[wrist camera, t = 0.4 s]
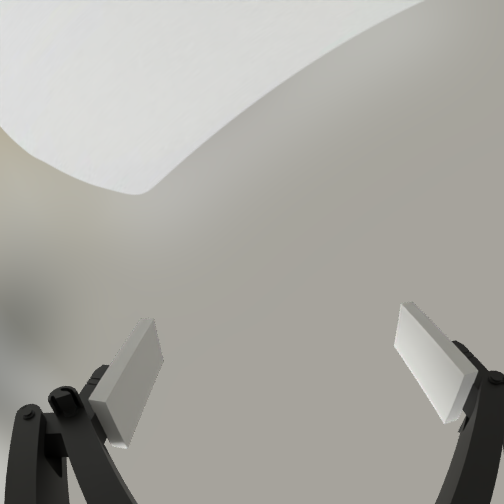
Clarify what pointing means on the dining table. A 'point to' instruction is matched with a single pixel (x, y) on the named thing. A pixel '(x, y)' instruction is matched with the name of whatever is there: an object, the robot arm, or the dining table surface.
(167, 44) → the dining table surface
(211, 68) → the dining table surface
